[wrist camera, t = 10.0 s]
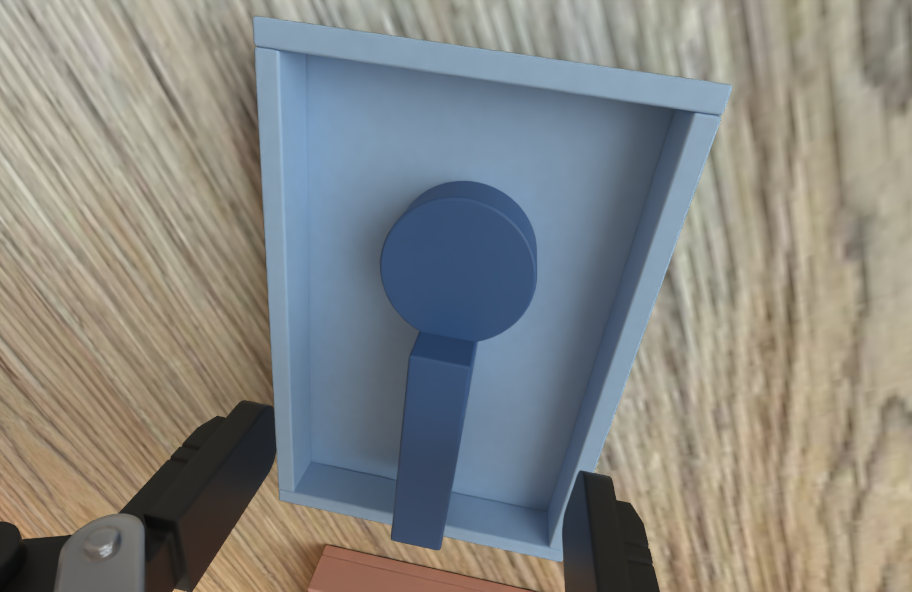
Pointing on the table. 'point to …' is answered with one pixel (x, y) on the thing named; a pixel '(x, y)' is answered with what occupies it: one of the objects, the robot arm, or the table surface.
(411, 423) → the spoon blue
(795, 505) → the table surface
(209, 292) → the table surface
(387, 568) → the tray pink
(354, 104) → the tray blue
